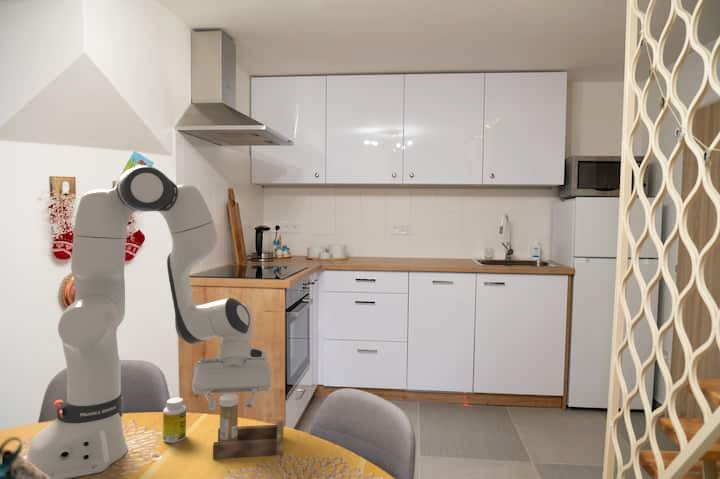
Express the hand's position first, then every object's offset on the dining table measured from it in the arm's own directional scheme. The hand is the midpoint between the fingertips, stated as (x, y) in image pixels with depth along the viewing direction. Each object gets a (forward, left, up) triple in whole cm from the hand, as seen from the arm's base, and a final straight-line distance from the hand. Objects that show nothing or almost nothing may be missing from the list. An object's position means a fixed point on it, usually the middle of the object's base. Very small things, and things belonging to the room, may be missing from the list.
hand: (230, 407), depth 117 cm
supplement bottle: (-11, +11, -10) cm, 18 cm away
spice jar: (-1, -2, -10) cm, 10 cm away
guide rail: (+4, -4, -10) cm, 11 cm away
